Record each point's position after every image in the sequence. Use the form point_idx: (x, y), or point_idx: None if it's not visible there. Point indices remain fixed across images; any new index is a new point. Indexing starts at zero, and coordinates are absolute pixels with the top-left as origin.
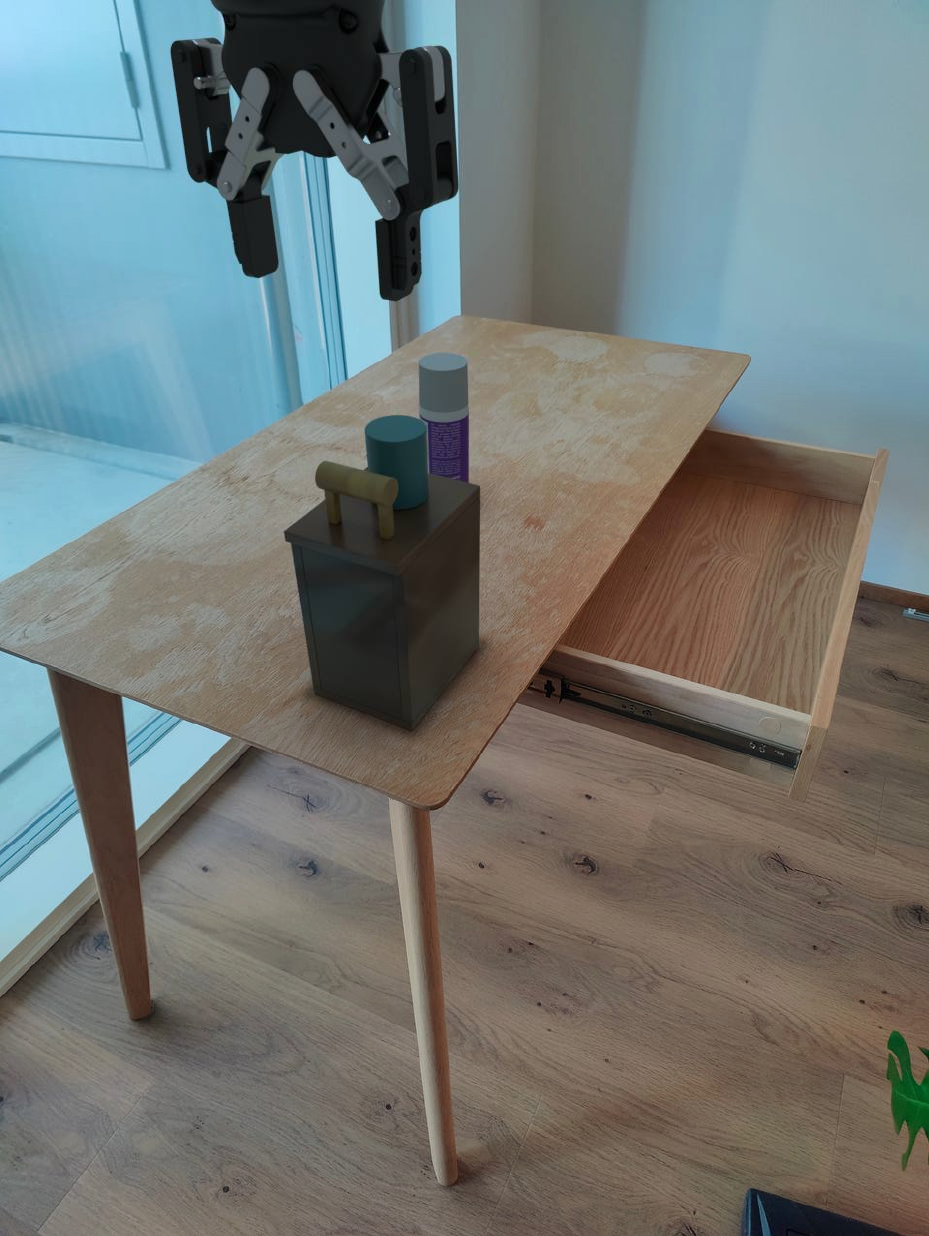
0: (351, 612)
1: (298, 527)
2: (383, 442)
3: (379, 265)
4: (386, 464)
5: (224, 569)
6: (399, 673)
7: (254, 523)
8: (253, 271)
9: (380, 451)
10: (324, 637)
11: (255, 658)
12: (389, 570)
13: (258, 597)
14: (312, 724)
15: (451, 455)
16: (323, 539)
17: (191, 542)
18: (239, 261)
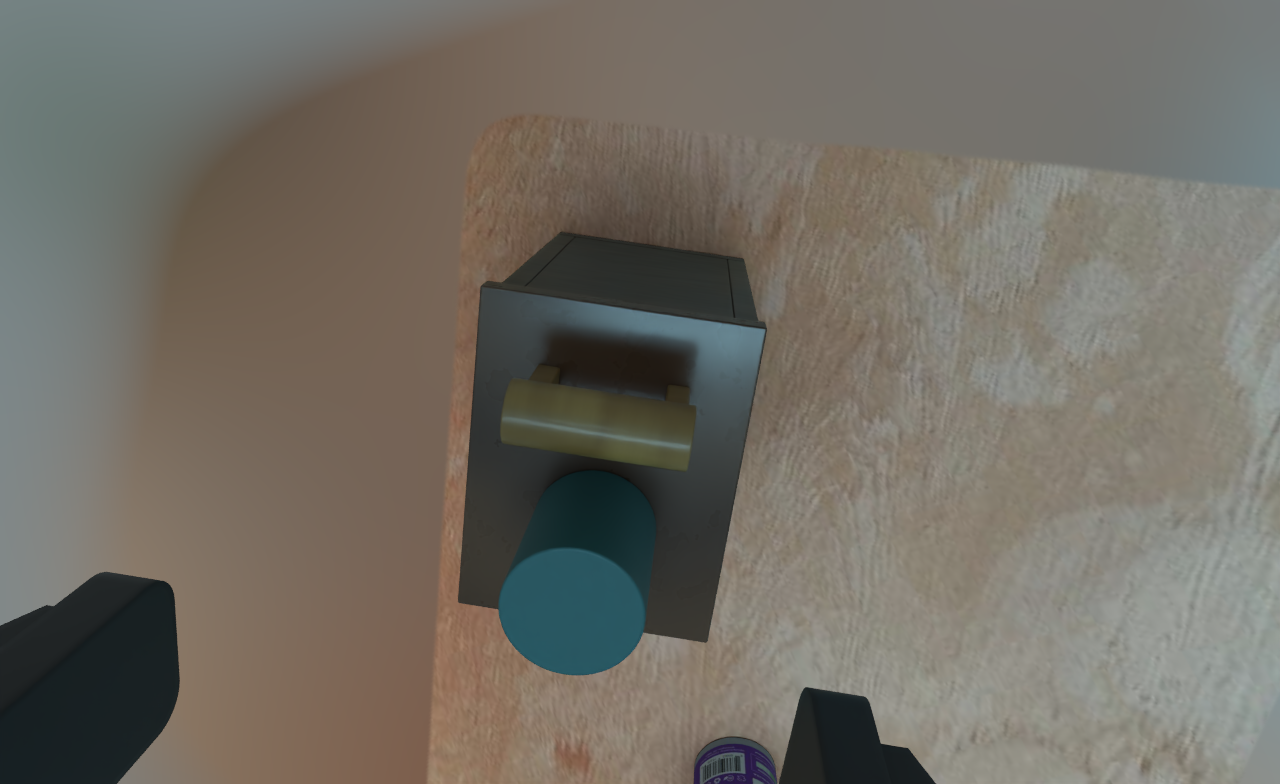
0: (634, 285)
1: (742, 351)
2: (567, 545)
3: (62, 650)
4: (572, 517)
5: (1051, 505)
6: (557, 253)
7: (1059, 642)
8: (807, 695)
9: (581, 533)
10: (706, 279)
11: (879, 305)
12: (506, 285)
13: (950, 451)
14: (714, 193)
15: None
16: (669, 326)
17: (1155, 561)
18: (906, 754)
